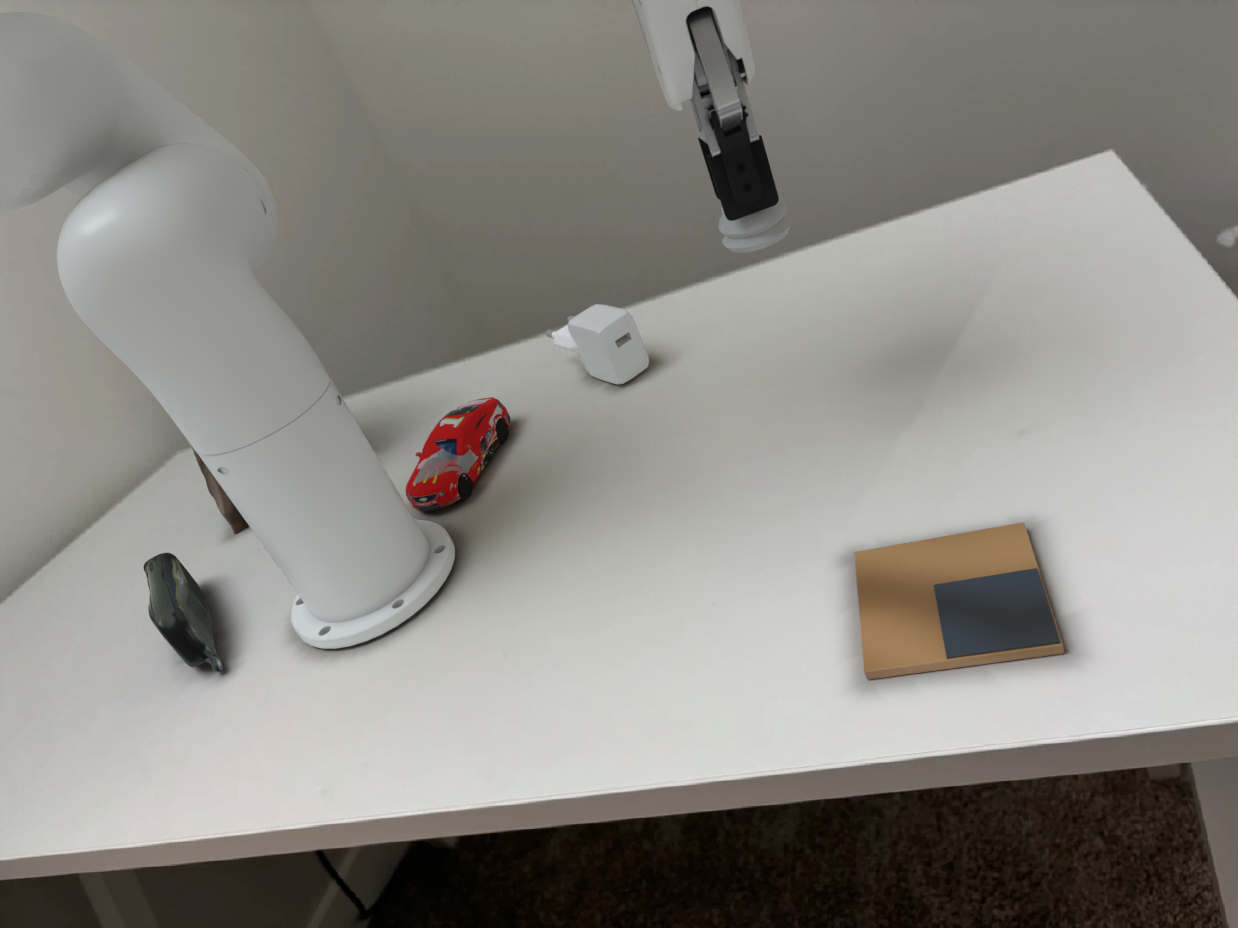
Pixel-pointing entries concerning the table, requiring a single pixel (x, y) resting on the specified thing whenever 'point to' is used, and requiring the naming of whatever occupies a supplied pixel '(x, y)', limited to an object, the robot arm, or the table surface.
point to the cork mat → (953, 603)
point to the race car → (457, 453)
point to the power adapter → (604, 343)
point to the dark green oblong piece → (180, 611)
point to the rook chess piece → (754, 226)
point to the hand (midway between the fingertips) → (746, 198)
